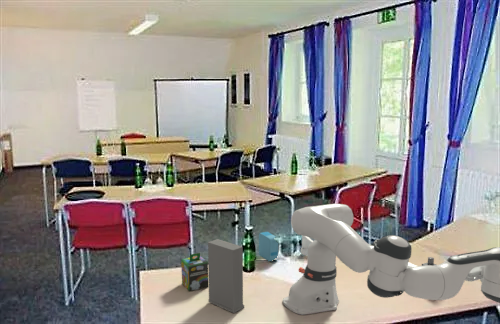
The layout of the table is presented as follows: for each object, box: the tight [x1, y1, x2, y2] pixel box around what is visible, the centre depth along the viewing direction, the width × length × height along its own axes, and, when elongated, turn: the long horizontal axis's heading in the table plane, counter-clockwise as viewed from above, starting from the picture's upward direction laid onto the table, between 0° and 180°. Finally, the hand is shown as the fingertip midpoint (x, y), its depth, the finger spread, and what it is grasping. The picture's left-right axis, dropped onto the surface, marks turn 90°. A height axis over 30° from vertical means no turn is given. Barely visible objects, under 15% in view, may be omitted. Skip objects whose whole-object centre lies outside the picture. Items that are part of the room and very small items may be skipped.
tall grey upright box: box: [207, 238, 245, 314], centre depth 182 cm, size 14×6×25 cm, turn 48°
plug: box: [421, 256, 437, 266], centre depth 199 cm, size 5×5×13 cm
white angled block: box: [300, 235, 314, 257], centre depth 238 cm, size 4×10×9 cm
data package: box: [258, 231, 279, 262], centre depth 233 cm, size 12×4×12 cm, turn 27°
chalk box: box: [180, 252, 209, 292], centre depth 201 cm, size 9×9×15 cm
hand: (459, 262), depth 186 cm, fingers open, 8 cm apart
